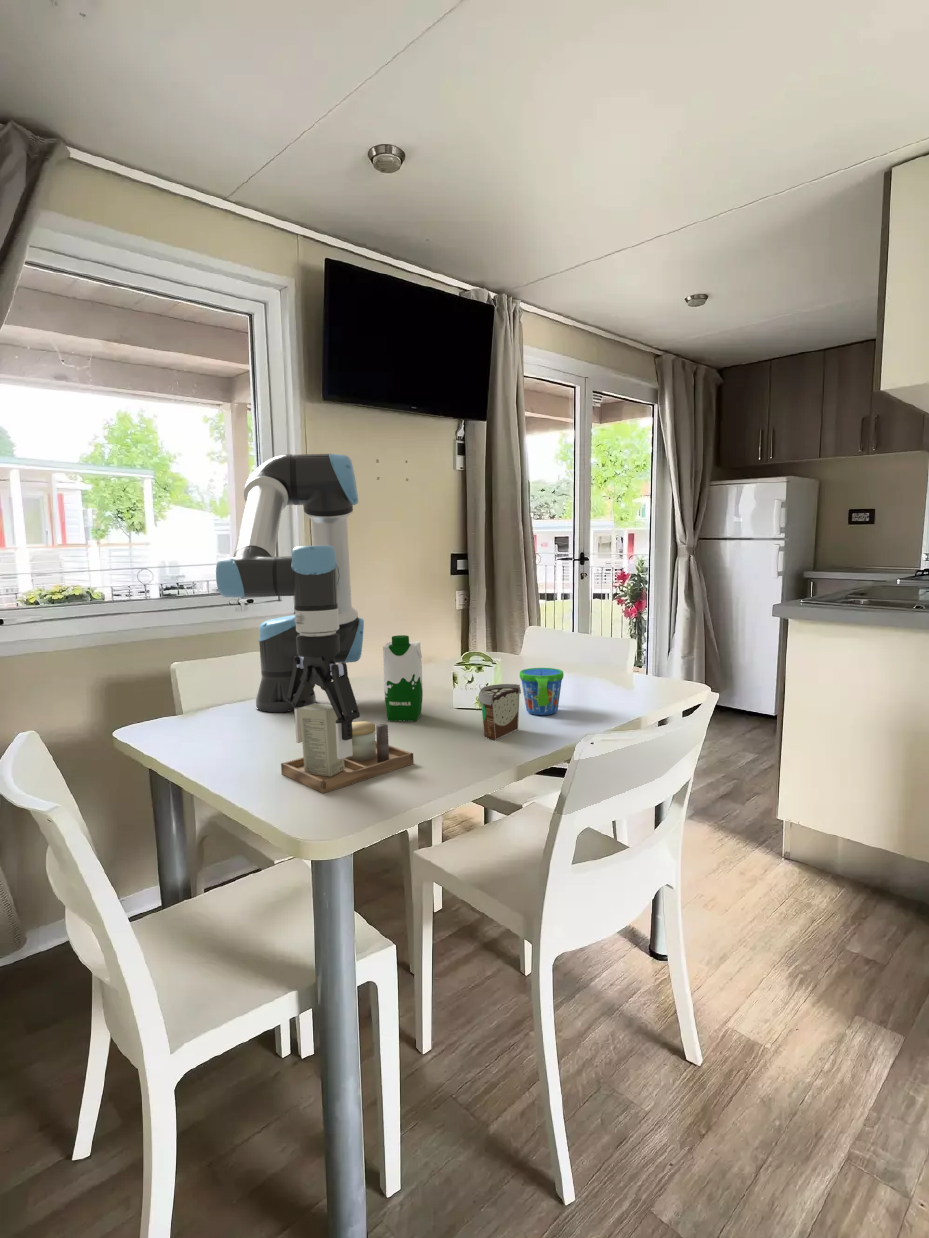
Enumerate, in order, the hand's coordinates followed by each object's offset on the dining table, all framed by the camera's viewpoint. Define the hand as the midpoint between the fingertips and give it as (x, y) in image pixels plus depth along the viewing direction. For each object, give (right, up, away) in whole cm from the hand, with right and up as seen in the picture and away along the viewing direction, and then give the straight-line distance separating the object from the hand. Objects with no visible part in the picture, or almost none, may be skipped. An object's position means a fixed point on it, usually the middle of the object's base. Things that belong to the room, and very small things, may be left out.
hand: (323, 748), depth 119 cm
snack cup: (+44, +1, +41) cm, 60 cm away
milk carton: (+11, 0, +39) cm, 41 cm away
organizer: (+4, -5, +4) cm, 7 cm away
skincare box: (0, -4, +1) cm, 5 cm away
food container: (+32, -2, +25) cm, 41 cm away
